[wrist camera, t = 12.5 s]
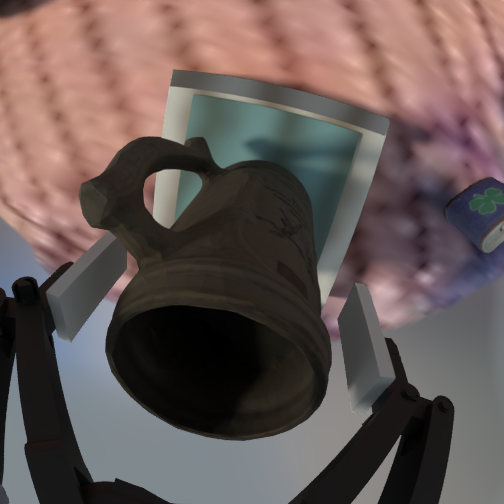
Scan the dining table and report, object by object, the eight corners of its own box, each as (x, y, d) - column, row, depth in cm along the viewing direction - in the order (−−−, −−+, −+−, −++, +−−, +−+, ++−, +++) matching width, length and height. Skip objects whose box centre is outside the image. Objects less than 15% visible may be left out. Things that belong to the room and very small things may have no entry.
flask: (446, 223, 31) (492, 268, 21) (439, 203, 30) (488, 243, 20) (497, 190, 27) (549, 224, 18) (492, 170, 27) (547, 199, 17)
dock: (377, 118, 26) (399, 123, 21) (317, 294, 37) (321, 329, 31) (186, 74, 26) (162, 68, 21) (161, 257, 37) (141, 286, 31)
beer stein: (339, 230, 28) (386, 406, 10) (254, 287, 32) (205, 460, 14) (234, 102, 24) (95, 75, 6) (155, 177, 28) (-5, 269, 10)
